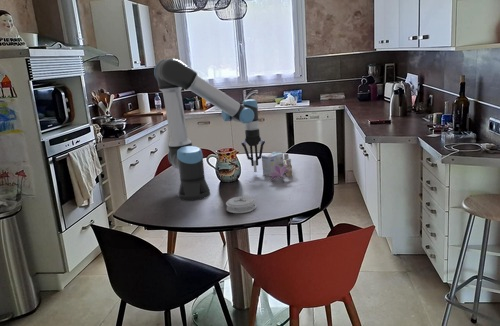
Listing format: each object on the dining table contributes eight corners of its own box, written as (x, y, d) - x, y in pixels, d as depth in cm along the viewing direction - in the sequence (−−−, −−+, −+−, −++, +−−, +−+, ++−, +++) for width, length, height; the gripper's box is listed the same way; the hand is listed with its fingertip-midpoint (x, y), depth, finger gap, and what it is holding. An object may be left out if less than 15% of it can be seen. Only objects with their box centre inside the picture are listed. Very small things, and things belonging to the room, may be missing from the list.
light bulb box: (276, 170, 240) (274, 151, 238) (284, 171, 235) (283, 152, 233) (262, 174, 233) (260, 155, 231) (271, 176, 228) (269, 156, 226)
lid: (249, 203, 190) (248, 192, 189) (260, 211, 179) (260, 200, 178) (222, 208, 186) (221, 197, 185) (232, 217, 174) (231, 205, 173)
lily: (295, 180, 221) (288, 163, 223) (293, 178, 210) (286, 160, 212) (273, 189, 222) (267, 172, 224) (271, 186, 211) (264, 169, 213)
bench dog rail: (292, 176, 226) (291, 159, 223) (286, 176, 226) (285, 160, 223) (289, 168, 241) (288, 153, 239) (284, 169, 241) (283, 153, 239)
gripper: (263, 126, 231) (266, 168, 237) (240, 128, 231) (243, 170, 237) (264, 129, 224) (267, 172, 229) (239, 130, 224) (243, 174, 230)
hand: (255, 171), depth 233 cm, fingers closed
